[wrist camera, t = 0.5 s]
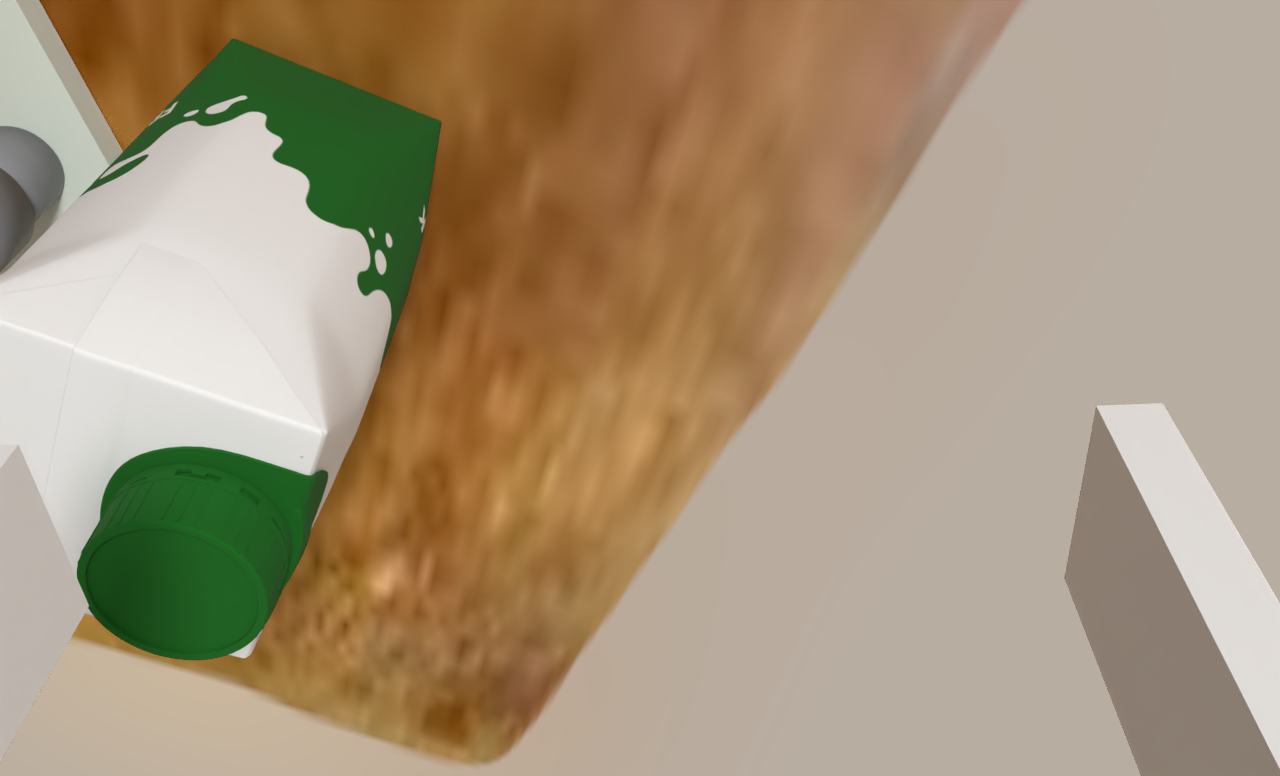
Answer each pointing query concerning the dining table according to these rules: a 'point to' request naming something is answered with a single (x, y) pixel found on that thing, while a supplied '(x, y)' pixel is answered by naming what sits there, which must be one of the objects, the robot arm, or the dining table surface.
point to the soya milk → (213, 342)
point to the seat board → (46, 117)
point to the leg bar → (13, 219)
